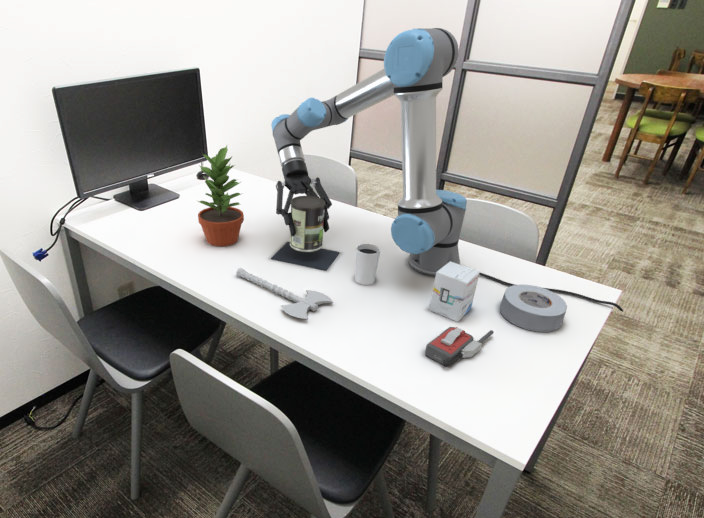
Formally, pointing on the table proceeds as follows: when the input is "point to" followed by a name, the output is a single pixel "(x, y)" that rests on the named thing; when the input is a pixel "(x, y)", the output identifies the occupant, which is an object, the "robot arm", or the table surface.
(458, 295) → the ink box
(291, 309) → the axe
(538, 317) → the tape roll
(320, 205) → the coffee can
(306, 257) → the felt pad
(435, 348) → the walkie-talkie
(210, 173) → the potted plant
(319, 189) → the robot arm
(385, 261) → the table surface
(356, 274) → the white coffee cup
